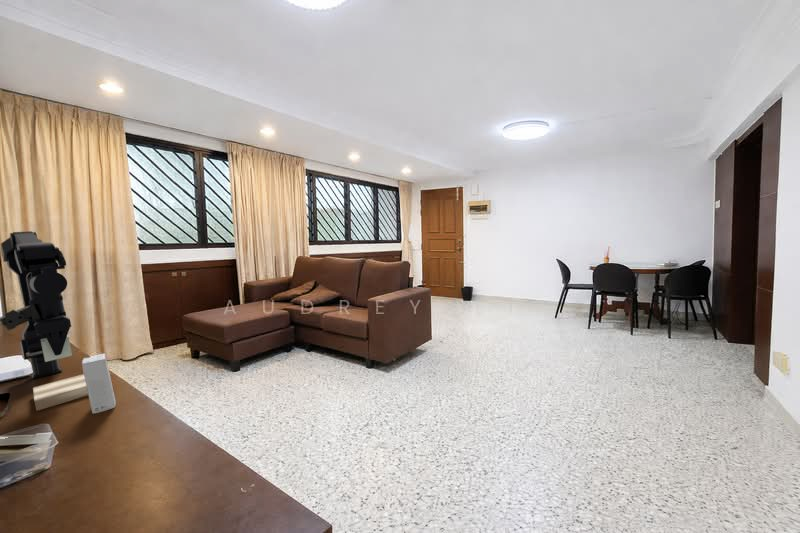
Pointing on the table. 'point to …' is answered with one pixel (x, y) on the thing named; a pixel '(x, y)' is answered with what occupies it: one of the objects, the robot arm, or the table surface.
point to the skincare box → (98, 383)
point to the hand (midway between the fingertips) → (57, 352)
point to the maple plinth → (59, 392)
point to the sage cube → (50, 354)
